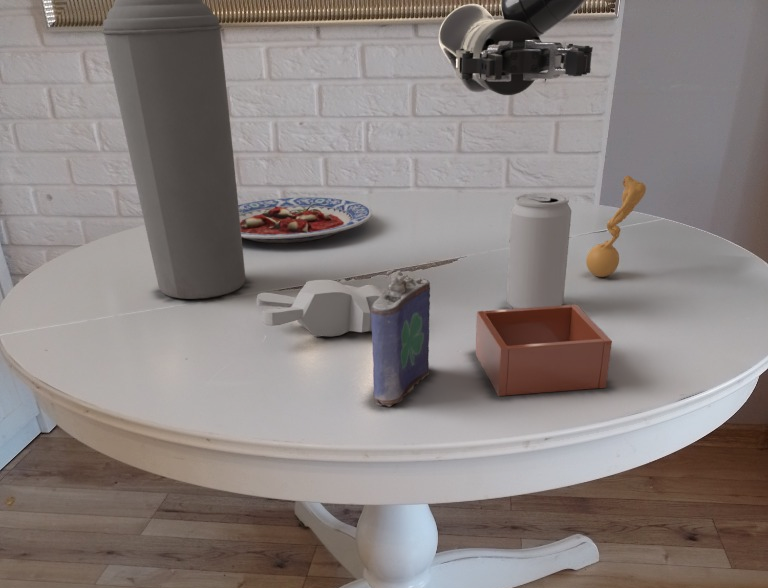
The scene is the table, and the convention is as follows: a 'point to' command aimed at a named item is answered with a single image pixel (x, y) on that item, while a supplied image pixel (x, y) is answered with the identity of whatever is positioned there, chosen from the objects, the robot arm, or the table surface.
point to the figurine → (615, 231)
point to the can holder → (542, 350)
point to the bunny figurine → (323, 307)
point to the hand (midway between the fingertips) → (539, 66)
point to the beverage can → (538, 250)
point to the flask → (400, 337)
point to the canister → (179, 141)
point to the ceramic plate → (299, 218)
